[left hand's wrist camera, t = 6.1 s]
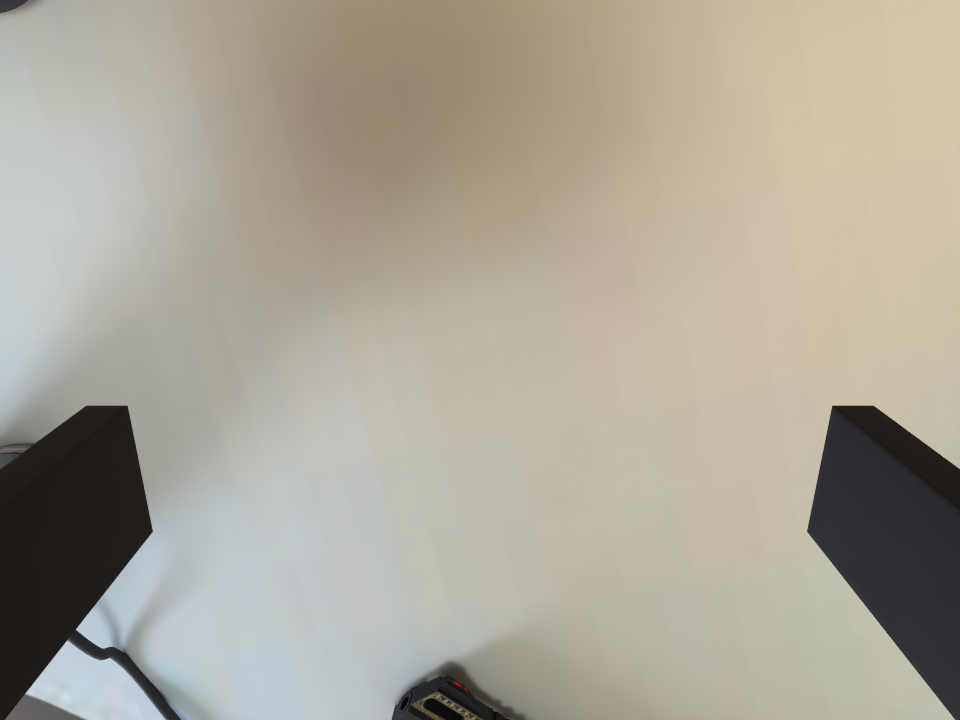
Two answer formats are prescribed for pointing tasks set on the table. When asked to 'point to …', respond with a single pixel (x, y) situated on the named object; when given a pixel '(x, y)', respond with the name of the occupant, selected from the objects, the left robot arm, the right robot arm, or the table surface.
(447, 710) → the decorative firearm
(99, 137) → the table surface
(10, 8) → the mug
